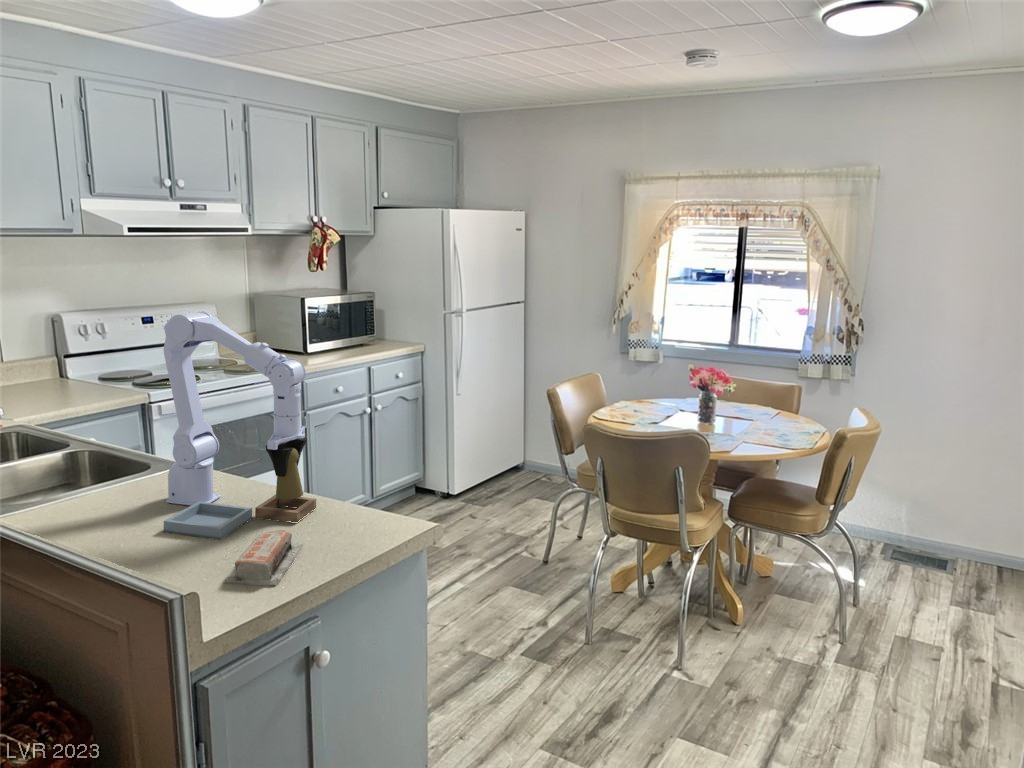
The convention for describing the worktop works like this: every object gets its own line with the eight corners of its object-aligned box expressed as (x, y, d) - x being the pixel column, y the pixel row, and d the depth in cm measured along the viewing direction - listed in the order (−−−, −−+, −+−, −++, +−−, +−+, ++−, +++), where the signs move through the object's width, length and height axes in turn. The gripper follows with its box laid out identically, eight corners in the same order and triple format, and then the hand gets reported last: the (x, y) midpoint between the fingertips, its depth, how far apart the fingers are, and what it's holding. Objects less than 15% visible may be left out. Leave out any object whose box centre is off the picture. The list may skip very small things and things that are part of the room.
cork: (299, 499, 176) (295, 451, 174) (272, 499, 176) (268, 451, 175) (306, 491, 182) (303, 445, 180) (280, 492, 182) (277, 445, 180)
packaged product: (278, 563, 143) (223, 561, 143) (278, 588, 144) (224, 585, 144) (304, 527, 161) (255, 525, 161) (303, 550, 162) (255, 547, 162)
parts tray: (163, 532, 165) (163, 521, 165) (199, 511, 178) (198, 501, 178) (220, 539, 163) (220, 528, 163) (252, 518, 176) (252, 508, 175)
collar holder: (255, 518, 176) (255, 507, 176) (276, 504, 186) (276, 493, 185) (297, 523, 175) (297, 512, 174) (316, 508, 184) (316, 498, 184)
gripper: (288, 423, 168) (288, 483, 171) (317, 409, 182) (316, 465, 185) (258, 419, 169) (258, 480, 172) (289, 406, 183) (288, 462, 186)
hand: (286, 472), depth 178 cm, fingers closed on cork, 5 cm apart
